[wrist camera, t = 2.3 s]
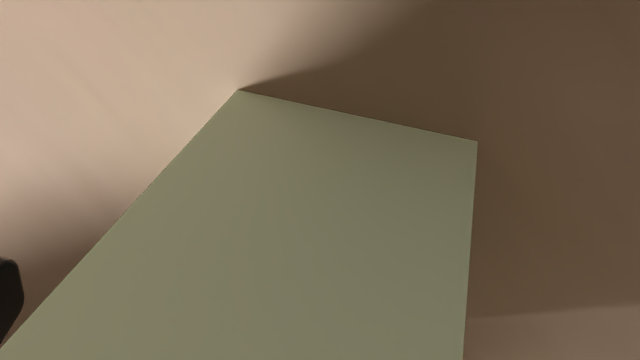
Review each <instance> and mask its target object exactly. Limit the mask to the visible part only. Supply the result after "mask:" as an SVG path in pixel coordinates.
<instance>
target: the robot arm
mask: <svg viewBox="0 0 640 360" xmlns="http://www.w3.org/2000/svg"><path fill="white" fill-rule="evenodd" d="M23 304H24V291H23V286H22V282H21V277H20V272H19V268H18V265H17V263H16V262H15V261H14V260H11V259H8V258H4V257H0V344H1V342H2V341H3V339H4V337H5V336H6V334H7V333H8V331H9V329H10V328H11V326H12V325H13V323H14V321H15V320H16V318H17V317H18V315H19V313H20V312H21V310H22V307H23Z"/></svg>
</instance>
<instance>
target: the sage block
mask: <svg viewBox="0 0 640 360" xmlns="http://www.w3.org/2000/svg"><path fill="white" fill-rule="evenodd" d="M477 147H478V141H474V140H469V139H464V138H460V137H455V136H450V135H446V134H441V133H436V132H432V131H427V130H422V129H418V128H413V127H409V126H404V125H399V124H395V123H390V122H385V121H381V120H376V119H371V118H367V117H362V116H357V115H353V114H348V113H343V112H339V111H334V110H329V109H325V108H320V107H315V106H311V105H306V104H302V103H297V102H292V101H288V100H283V99H278V98H274V97H269V96H264V95H260V94H255V93H250V92H246V91H241V90H237V91H236V92H235V93H234V94H233V95H232V96H231V97H230V98H229V99H228V100H227V102H226V103H225V104H224V105H223V106H222V107H221V108H220V109H219V110H218V111H217V112H216V114H215V115H214V116H213V117H212V118H211V119H210V120H209V121H208V122H207V123H206V124H205V126H204V127H203V128H202V129H201V130H200V131H199V132H198V133H197V134H196V135H195V136H194V138H193V139H192V140H191V141H190V142H189V143H188V144H187V145H186V146H185V147H184V148H183V150H182V151H181V152H180V153H179V154H178V155H177V156H176V157H175V158H174V159H173V160H172V162H171V163H170V164H169V165H168V166H167V167H166V168H165V169H164V170H163V171H162V172H161V174H160V175H159V176H158V177H157V178H156V179H155V180H154V181H153V182H152V183H151V184H150V186H149V187H148V188H147V189H146V190H145V191H144V192H143V193H142V194H141V195H140V196H139V198H138V199H137V200H136V201H135V202H134V203H133V204H132V205H131V206H130V207H129V208H128V210H127V211H126V212H125V213H124V214H123V215H122V216H121V217H120V218H119V219H118V220H117V222H116V223H115V224H114V225H113V226H112V227H111V228H110V229H109V230H108V231H107V232H106V234H105V235H104V236H103V237H102V238H101V239H100V240H99V241H98V242H97V243H96V244H95V246H94V247H93V248H92V249H91V250H90V251H89V252H88V253H87V254H86V255H85V256H84V258H83V259H82V260H81V261H80V262H79V263H78V264H77V265H76V266H75V267H74V268H73V270H72V271H71V272H70V273H69V274H68V275H67V276H66V277H65V278H64V279H63V280H62V282H61V283H60V284H59V285H58V286H57V287H56V288H55V289H54V290H53V291H52V292H51V294H50V295H49V296H48V297H47V298H46V299H45V300H44V301H43V302H42V303H41V304H40V306H39V307H38V308H37V309H36V310H35V311H34V312H33V313H32V314H31V315H30V316H29V318H28V319H27V320H26V321H25V322H24V323H23V324H22V325H21V326H20V327H19V328H18V330H17V331H16V332H15V333H14V334H13V335H12V336H11V337H10V338H9V339H8V340H7V342H6V343H5V344H4V345H3V346H2V347H1V348H0V360H463V348H464V334H465V319H466V305H467V291H468V276H469V262H470V248H471V233H472V219H473V205H474V190H475V176H476V162H477Z"/></svg>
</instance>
